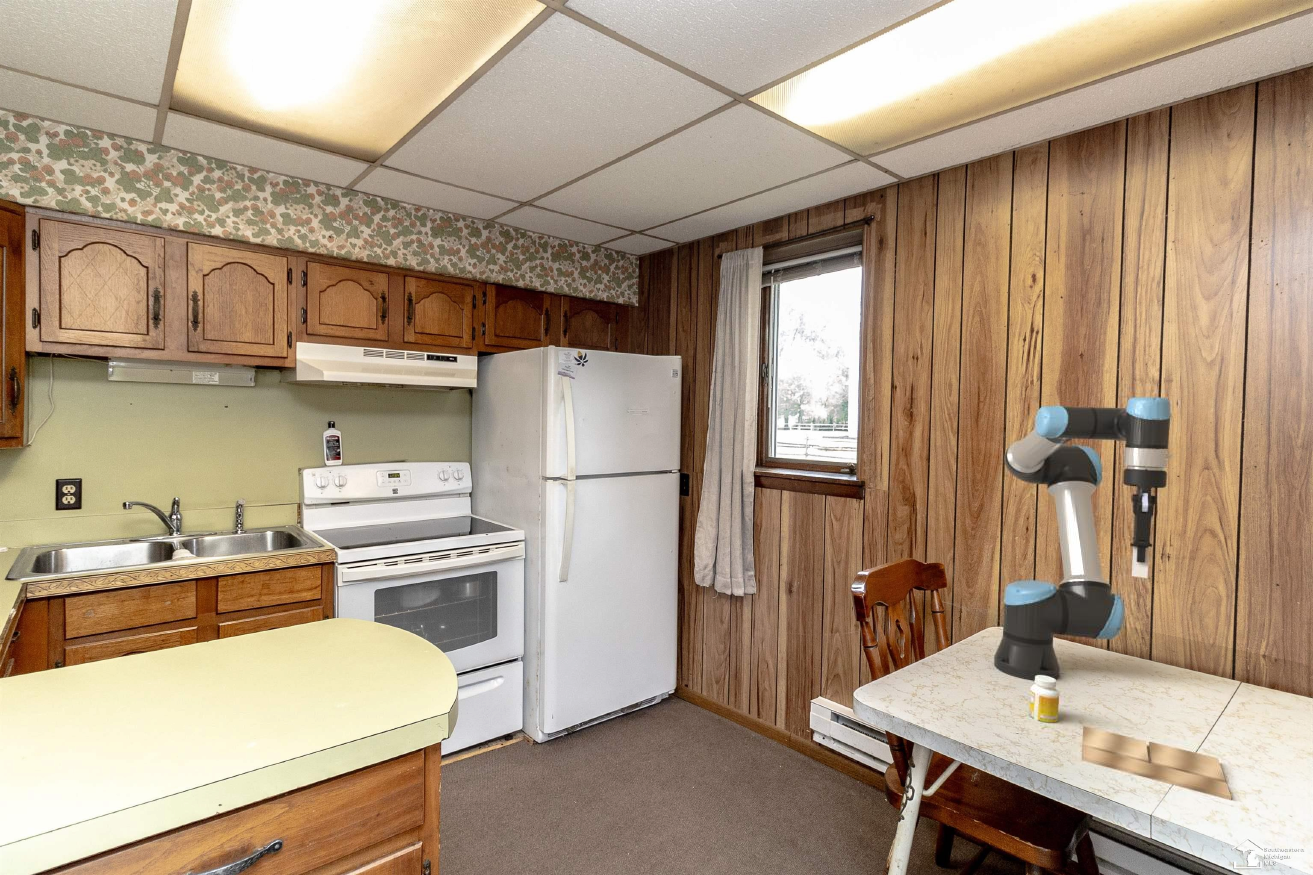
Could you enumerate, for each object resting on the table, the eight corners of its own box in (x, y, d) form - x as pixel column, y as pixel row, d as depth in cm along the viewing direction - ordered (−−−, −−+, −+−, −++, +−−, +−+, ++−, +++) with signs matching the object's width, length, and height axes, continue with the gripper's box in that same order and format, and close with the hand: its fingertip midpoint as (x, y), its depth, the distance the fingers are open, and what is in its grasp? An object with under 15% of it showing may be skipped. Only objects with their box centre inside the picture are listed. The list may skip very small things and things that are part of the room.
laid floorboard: (1081, 763, 124) (1081, 756, 124) (1081, 752, 129) (1082, 745, 129) (1230, 804, 112) (1231, 796, 112) (1225, 790, 117) (1225, 782, 117)
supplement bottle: (1023, 718, 144) (1025, 675, 144) (1039, 714, 146) (1041, 672, 146) (1047, 729, 139) (1049, 684, 139) (1063, 725, 141) (1065, 681, 141)
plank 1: (1081, 750, 129) (1082, 743, 129) (1082, 732, 137) (1083, 725, 137) (1148, 768, 124) (1148, 760, 124) (1145, 747, 131) (1145, 741, 131)
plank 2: (1151, 768, 123) (1151, 761, 123) (1148, 748, 131) (1149, 741, 131) (1224, 788, 117) (1225, 780, 117) (1217, 765, 125) (1217, 758, 125)
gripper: (1169, 470, 135) (1163, 584, 135) (1164, 468, 146) (1158, 574, 146) (1125, 468, 139) (1119, 578, 140) (1123, 466, 150) (1117, 569, 150)
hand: (1139, 576), depth 143 cm, fingers closed
